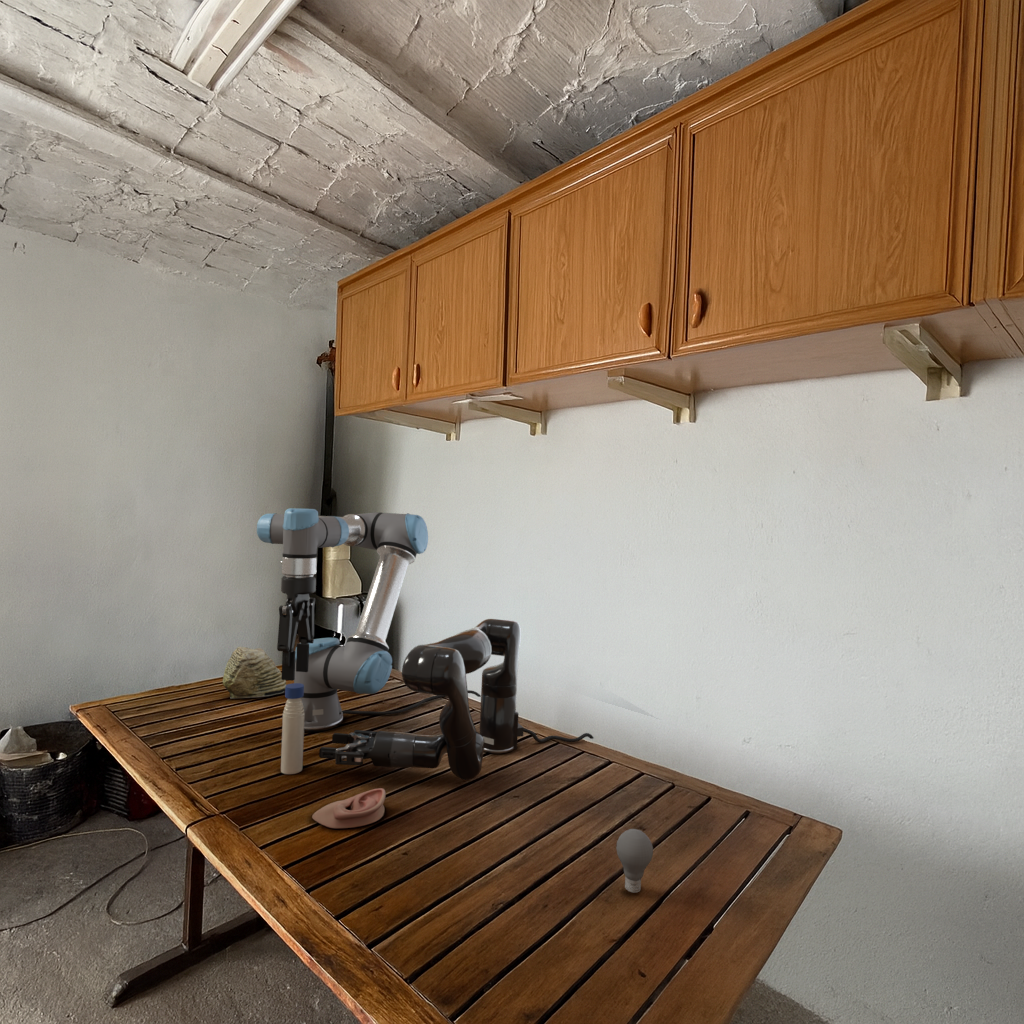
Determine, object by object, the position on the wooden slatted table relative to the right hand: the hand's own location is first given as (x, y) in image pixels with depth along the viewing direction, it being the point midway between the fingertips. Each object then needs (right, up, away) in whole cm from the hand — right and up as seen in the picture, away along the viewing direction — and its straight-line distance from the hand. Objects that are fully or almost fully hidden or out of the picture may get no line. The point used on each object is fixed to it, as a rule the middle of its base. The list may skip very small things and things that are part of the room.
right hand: (326, 744), depth 145 cm
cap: (-7, +13, 0) cm, 15 cm away
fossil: (-38, -4, +53) cm, 65 cm away
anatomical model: (+10, -7, -19) cm, 23 cm away
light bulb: (+63, -10, -40) cm, 75 cm away
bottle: (-8, -6, +1) cm, 10 cm away
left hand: (-7, +16, 0) cm, 18 cm away
